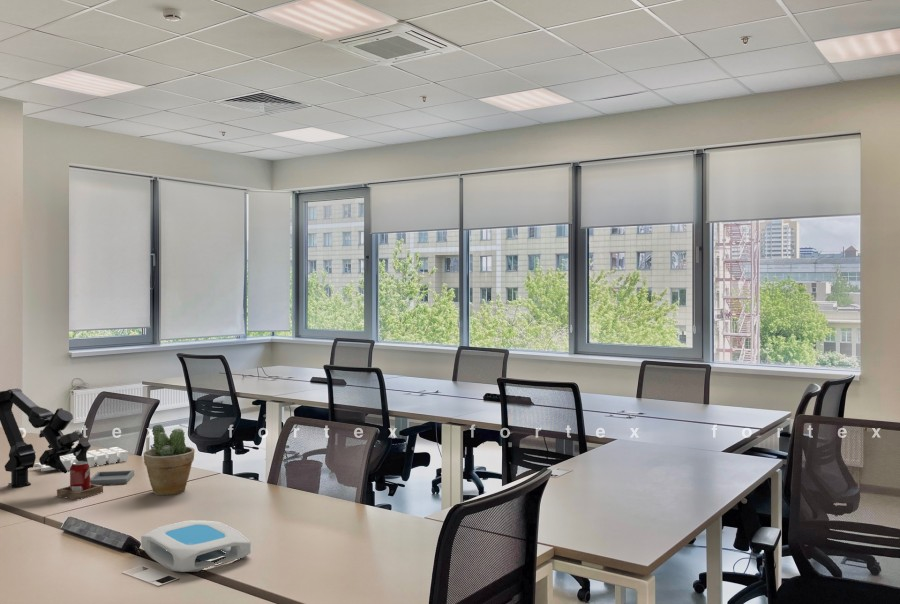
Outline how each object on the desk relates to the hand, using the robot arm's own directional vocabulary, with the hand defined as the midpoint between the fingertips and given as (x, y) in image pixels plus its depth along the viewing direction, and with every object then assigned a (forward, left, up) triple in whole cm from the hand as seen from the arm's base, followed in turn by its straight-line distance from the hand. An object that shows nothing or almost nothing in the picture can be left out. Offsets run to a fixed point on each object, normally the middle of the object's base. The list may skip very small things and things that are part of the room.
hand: (76, 469), depth 276 cm
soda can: (+2, +1, -9) cm, 9 cm away
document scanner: (+91, +5, -9) cm, 91 cm away
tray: (-11, +17, -9) cm, 22 cm away
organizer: (-47, +16, -10) cm, 50 cm away
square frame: (+2, +1, -9) cm, 9 cm away
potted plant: (+21, +27, -9) cm, 35 cm away
